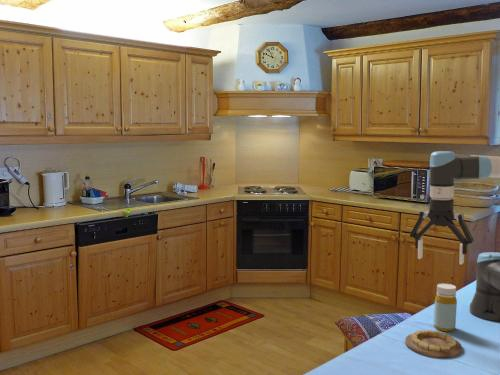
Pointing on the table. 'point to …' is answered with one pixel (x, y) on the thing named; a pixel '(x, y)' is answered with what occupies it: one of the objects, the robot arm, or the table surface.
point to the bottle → (445, 307)
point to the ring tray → (433, 344)
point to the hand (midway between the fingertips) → (440, 260)
